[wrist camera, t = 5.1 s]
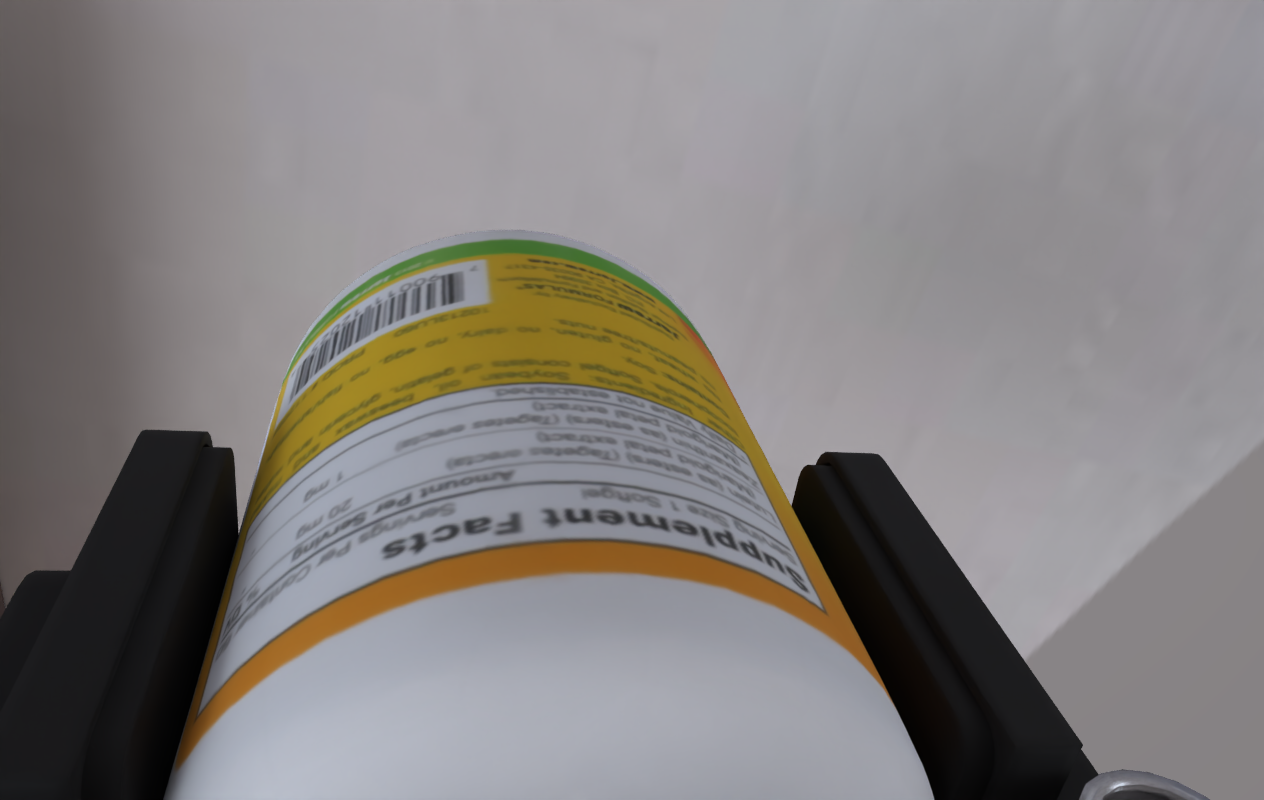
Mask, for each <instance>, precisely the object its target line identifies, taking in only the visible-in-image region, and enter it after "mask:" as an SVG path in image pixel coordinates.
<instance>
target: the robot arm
mask: <svg viewBox="0 0 1264 800" xmlns="http://www.w3.org/2000/svg"><path fill="white" fill-rule="evenodd" d="M792 508H793V510H794V512H795V514H796V516H797V518H798V520H799V522H800V524H801V526H802V527H803V529H804V531H805V533H806V535H807V537H808V539H809V541H810V543H811V545H812V547H813V548H814V550H815V552H816V554H817V556H818V558H819V560H820V562H821V564H822V566H823V568H824V570H825V572H826V574H827V576H828V578H829V579H830V581H831V583H832V585H833V587H834V589H835V591H836V593H837V595H838V597H839V599H840V601H841V603H842V605H843V607H844V608H845V610H846V612H847V614H848V616H849V618H850V620H851V622H852V624H853V626H854V628H855V629H856V631H857V633H858V635H859V637H860V639H861V641H862V643H863V645H864V647H865V649H866V651H867V652H868V654H869V656H870V658H871V660H872V662H873V664H874V666H875V668H876V670H877V672H878V673H879V675H880V677H881V679H882V681H883V683H884V685H885V687H886V689H887V691H888V693H889V695H890V697H891V699H892V701H893V703H894V705H895V707H896V709H897V711H898V714H899V716H900V718H901V720H902V722H903V724H904V726H905V728H906V730H907V732H908V735H909V737H910V739H911V741H912V743H913V745H914V748H915V750H916V752H917V754H918V756H919V758H920V760H921V762H922V765H923V767H924V770H925V772H926V775H927V777H928V780H929V783H930V787H931V790H932V793H933V796H934V800H1210V799H1208V798H1207V797H1206V796H1204V795H1202V794H1200V793H1198V792H1196V791H1194V790H1192V789H1190V788H1189V787H1186V786H1184V785H1183V784H1181V783H1179V782H1177V781H1174V780H1171V779H1167V778H1165V777H1162V776H1159V775H1155V774H1153V773H1149V772H1142V771H1133V770H1123V769H1122V770H1117V771H1111V772H1106V773H1101V774H1098V773H1097V772H1096V770H1095V769H1094V767H1093V766H1092V764H1091V763H1090V761H1089V760H1088V759H1087V757H1086V756H1085V754H1084V753H1083V751H1082V750H1081V748H1082V746H1083V744H1082V743H1081V741H1080V740H1079V738H1078V737H1077V736H1076V734H1075V733H1074V732H1073V730H1072V729H1071V727H1070V726H1069V724H1068V723H1067V721H1066V720H1065V718H1064V717H1063V716H1062V714H1061V713H1060V711H1059V710H1058V708H1057V707H1056V706H1055V704H1054V703H1053V701H1052V700H1051V699H1050V697H1049V696H1048V694H1047V693H1046V691H1045V690H1044V689H1043V687H1042V686H1041V684H1040V683H1039V681H1038V680H1037V678H1036V677H1035V676H1034V674H1033V673H1032V671H1031V670H1030V668H1029V667H1028V665H1027V664H1026V663H1025V661H1024V660H1023V658H1022V657H1021V655H1020V654H1019V653H1018V651H1017V650H1016V648H1015V647H1014V645H1013V644H1012V643H1011V641H1010V640H1009V638H1008V637H1007V635H1006V634H1005V633H1004V631H1003V630H1002V628H1001V627H1000V625H999V624H998V622H997V621H996V620H995V618H994V617H993V615H992V614H991V612H990V611H989V610H988V608H987V607H986V605H985V604H984V602H983V601H982V600H981V598H980V597H979V595H978V594H977V592H976V591H975V590H974V588H973V587H972V585H971V584H970V582H969V581H968V580H967V578H966V577H965V575H964V574H963V572H962V571H961V569H960V568H959V567H958V565H957V564H956V562H955V561H954V559H953V558H952V557H951V555H950V554H949V552H948V551H947V549H946V548H945V547H944V545H943V544H942V542H941V541H940V539H939V538H938V537H937V535H936V534H935V532H934V531H933V529H932V528H931V527H930V525H929V524H928V522H927V521H926V519H925V518H924V516H923V515H922V514H921V512H920V511H919V509H918V508H917V506H916V505H915V504H914V502H913V501H912V499H911V498H910V496H909V495H908V494H907V492H906V491H905V489H904V488H903V486H902V485H901V484H900V482H899V481H898V479H897V478H896V476H895V475H894V474H893V472H892V471H891V469H890V468H889V466H888V465H887V463H886V462H885V461H884V459H883V458H882V457H881V456H880V455H878V454H872V453H842V452H825V453H824V454H822V455H821V456H820V458H819V459H818V461H817V463H816V465H807V466H805V467H804V468H803V469H802V471H801V473H800V476H799V479H798V483H797V487H796V491H795V495H794V499H793V503H792ZM238 536H239V535H238V517H237V499H236V481H235V463H234V455H233V450H232V449H231V448H220V447H213V445H212V440H211V436H210V434H209V433H208V432H200V431H169V430H143V431H142V432H141V433H140V435H139V436H138V438H137V440H136V442H135V444H134V446H133V448H132V450H131V452H130V454H129V456H128V458H127V460H126V462H125V464H124V466H123V468H122V470H121V472H120V474H119V476H118V478H117V480H116V482H115V484H114V486H113V488H112V490H111V492H110V494H109V496H108V498H107V500H106V502H105V504H104V506H103V508H102V510H101V512H100V514H99V516H98V518H97V520H96V522H95V524H94V526H93V528H92V530H91V532H90V534H89V536H88V538H87V540H86V542H85V544H84V546H83V548H82V550H81V552H80V554H79V556H78V558H77V560H76V562H75V564H74V566H73V568H72V570H71V571H34V572H32V573H30V574H28V575H27V576H26V577H25V578H24V580H23V581H22V582H21V584H20V585H19V586H18V588H17V590H16V591H15V593H14V595H13V597H12V599H11V600H10V602H9V604H8V606H7V608H6V609H5V611H4V613H3V615H2V617H1V618H0V800H163V798H164V795H165V791H166V788H167V784H168V781H169V777H170V774H171V770H172V767H173V763H174V760H175V756H176V753H177V749H178V746H179V743H180V739H181V736H182V733H183V729H184V726H185V722H186V719H187V716H188V712H189V709H190V706H191V702H192V699H193V695H194V692H195V688H196V685H197V681H198V678H199V674H200V671H201V667H202V664H203V660H204V656H205V653H206V649H207V646H208V642H209V639H210V635H211V632H212V628H213V625H214V621H215V618H216V614H217V611H218V607H219V604H220V600H221V597H222V593H223V589H224V586H225V582H226V579H227V575H228V572H229V568H230V564H231V561H232V557H233V554H234V550H235V546H236V543H237V539H238Z"/></svg>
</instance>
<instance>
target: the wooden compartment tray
mask: <svg viewBox="0 0 1264 800" xmlns="http://www.w3.org/2000/svg"><path fill="white" fill-rule="evenodd" d="M4 611H5V605H4V600H3V594H2V589H1V583H0V618H1V617H2V615H3V613H4Z"/></svg>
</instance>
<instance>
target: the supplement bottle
mask: <svg viewBox="0 0 1264 800" xmlns="http://www.w3.org/2000/svg"><path fill="white" fill-rule="evenodd" d="M163 800H934V796H933V793H932V790H931V787H930V783H929V780H928V777H927V775H926V772H925V770H924V767H923V765H922V762H921V760H920V758H919V756H918V754H917V752H916V750H915V748H914V745H913V743H912V741H911V739H910V737H909V735H908V732H907V730H906V728H905V726H904V724H903V722H902V720H901V718H900V716H899V714H898V711H897V709H896V707H895V705H894V703H893V701H892V699H891V697H890V695H889V693H888V691H887V689H886V687H885V685H884V683H883V681H882V679H881V677H880V675H879V673H878V672H877V670H876V668H875V666H874V664H873V662H872V660H871V658H870V656H869V654H868V652H867V651H866V649H865V647H864V645H863V643H862V641H861V639H860V637H859V635H858V633H857V631H856V629H855V628H854V626H853V624H852V622H851V620H850V618H849V616H848V614H847V612H846V610H845V608H844V607H843V605H842V603H841V601H840V599H839V597H838V595H837V593H836V591H835V589H834V587H833V585H832V583H831V581H830V579H829V578H828V576H827V574H826V572H825V570H824V568H823V566H822V564H821V562H820V560H819V558H818V556H817V554H816V552H815V550H814V548H813V547H812V545H811V543H810V541H809V539H808V537H807V535H806V533H805V531H804V529H803V527H802V526H801V524H800V522H799V520H798V518H797V516H796V514H795V512H794V510H793V508H792V507H791V505H790V503H789V501H788V499H787V497H786V495H785V493H784V491H783V489H782V488H781V486H780V484H779V482H778V480H777V478H776V476H775V474H774V473H773V471H772V469H771V467H770V465H769V463H768V461H767V459H766V457H765V455H764V453H763V451H762V449H761V447H760V446H759V444H758V442H757V440H756V438H755V436H754V434H753V432H752V430H751V429H750V427H749V425H748V423H747V421H746V419H745V417H744V415H743V413H742V411H741V410H740V407H739V406H738V404H737V402H736V400H735V398H734V396H733V394H732V392H731V390H730V388H729V386H728V384H727V382H726V380H725V378H724V376H723V374H722V373H721V371H720V369H719V367H718V365H717V363H716V361H715V359H714V357H713V356H712V354H711V352H710V350H709V349H708V347H707V346H706V344H705V342H704V340H703V339H702V337H701V336H700V334H699V332H698V331H697V329H696V328H695V326H694V324H693V323H692V322H691V320H690V319H689V318H688V316H687V315H686V314H685V312H684V311H683V310H682V308H681V307H680V306H679V305H678V304H677V303H676V302H675V300H674V299H673V298H672V297H671V296H670V295H669V294H668V293H667V292H666V291H665V290H663V289H662V288H661V287H660V286H659V285H658V284H657V283H655V282H654V281H653V280H652V279H650V278H649V277H648V276H647V275H645V274H644V273H642V272H641V271H639V270H638V269H636V268H634V267H633V266H631V265H630V264H628V263H626V262H625V261H623V260H621V259H619V258H618V257H616V256H614V255H611V254H609V253H607V252H605V251H603V250H601V249H599V248H597V247H594V246H592V245H589V244H586V243H583V242H580V241H577V240H574V239H570V238H567V237H563V236H559V235H555V234H549V233H544V232H535V231H526V230H488V231H479V232H470V233H465V234H460V235H455V236H450V237H446V238H442V239H438V240H435V241H431V242H428V243H425V244H422V245H418V246H415V247H413V248H411V249H408V250H406V251H404V252H401V253H399V254H397V255H395V256H393V257H391V258H389V259H387V260H385V261H383V262H382V263H380V264H378V265H377V266H375V267H374V268H372V269H370V270H369V271H367V272H366V273H364V274H363V275H362V276H360V277H359V278H358V279H356V280H355V281H354V282H352V283H351V284H350V285H349V286H347V287H346V288H345V289H344V290H343V291H342V292H340V293H339V294H338V295H337V296H336V297H335V298H334V299H333V300H332V301H331V302H330V303H329V304H328V306H327V307H326V308H325V309H324V311H323V312H322V313H321V314H320V315H319V317H318V318H317V319H316V320H315V321H314V323H313V324H312V325H311V327H310V328H309V330H308V331H307V333H306V334H305V336H304V338H303V339H302V341H301V343H300V344H299V346H298V348H297V350H296V352H295V354H294V356H293V358H292V360H291V362H290V365H289V368H288V370H287V373H286V376H285V378H284V381H283V384H282V387H281V390H280V392H279V396H278V399H277V402H276V405H275V408H274V411H273V414H272V418H271V421H270V425H269V428H268V432H267V435H266V439H265V442H264V446H263V450H262V453H261V457H260V460H259V464H258V468H257V471H256V475H255V478H254V482H253V485H252V489H251V493H250V496H249V500H248V503H247V507H246V510H245V514H244V518H243V521H242V525H241V528H240V532H239V536H238V539H237V543H236V546H235V550H234V554H233V557H232V561H231V564H230V568H229V572H228V575H227V579H226V582H225V586H224V589H223V593H222V597H221V600H220V604H219V607H218V611H217V614H216V618H215V621H214V625H213V628H212V632H211V635H210V639H209V642H208V646H207V649H206V653H205V656H204V660H203V664H202V667H201V671H200V674H199V678H198V681H197V685H196V688H195V692H194V695H193V699H192V702H191V706H190V709H189V712H188V716H187V719H186V722H185V726H184V729H183V733H182V736H181V739H180V743H179V746H178V749H177V753H176V756H175V760H174V763H173V767H172V770H171V774H170V777H169V781H168V784H167V788H166V791H165V795H164V798H163Z"/></svg>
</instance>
